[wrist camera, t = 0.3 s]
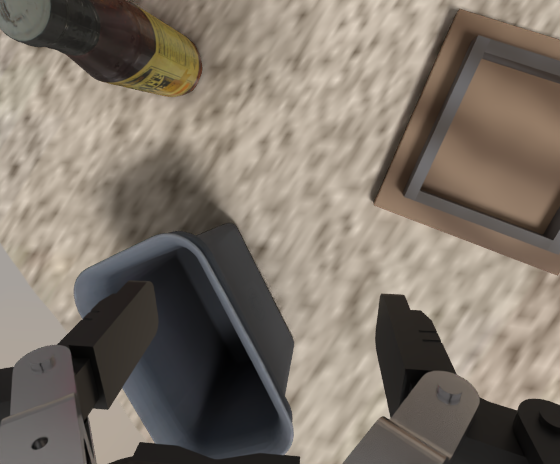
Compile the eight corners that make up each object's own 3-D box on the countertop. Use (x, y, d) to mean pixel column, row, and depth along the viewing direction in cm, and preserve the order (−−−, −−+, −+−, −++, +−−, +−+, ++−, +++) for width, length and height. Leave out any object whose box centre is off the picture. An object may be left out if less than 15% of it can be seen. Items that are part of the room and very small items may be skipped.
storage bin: (325, 357, 44) (308, 456, 30) (216, 390, 48) (158, 489, 35) (245, 192, 41) (186, 219, 27) (137, 244, 45) (41, 290, 32)
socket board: (455, 14, 33) (465, 0, 29) (668, 81, 31) (705, 74, 27) (373, 202, 38) (374, 208, 35) (550, 270, 36) (568, 283, 33)
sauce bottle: (150, 95, 40) (-36, 57, 22) (152, 32, 39) (-47, -68, 20) (206, 102, 39) (61, 69, 21) (211, 37, 38) (58, -63, 19)
